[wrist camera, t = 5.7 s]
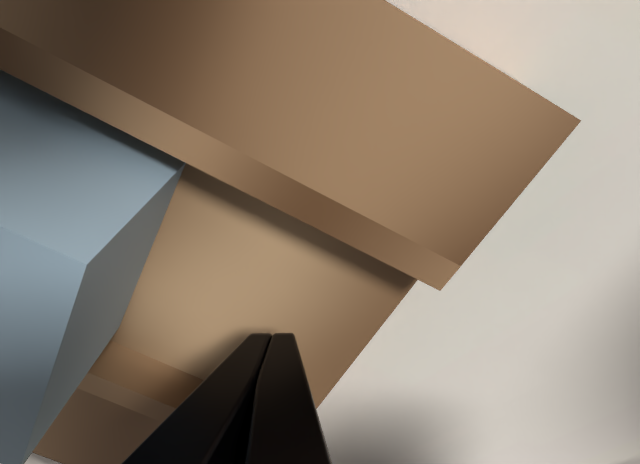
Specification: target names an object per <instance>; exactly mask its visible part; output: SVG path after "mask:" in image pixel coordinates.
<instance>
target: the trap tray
mask: <svg viewBox="0 0 640 464" xmlns="http://www.w3.org/2000/svg"><path fill="white" fill-rule="evenodd" d="M0 70H2V71H4V72H6V73H8V74H10V75H12V76H14V77H16V78H18V79H20V80H22V81H24V82H26V83H28V84H30V85H32V86H34V87H36V88H38V89H40V90H42V91H44V92H46V93H48V94H50V95H52V96H54V97H56V98H58V99H60V100H62V101H64V102H66V103H68V104H70V105H72V106H74V107H76V108H78V109H80V110H82V111H84V112H86V113H88V114H90V115H92V116H94V117H96V118H98V119H100V120H102V121H104V122H106V123H108V124H110V125H112V126H114V127H116V128H118V129H120V130H122V131H124V132H126V133H128V134H130V135H132V136H133V137H135V138H137V139H139V140H141V141H143V142H145V143H147V144H149V145H151V146H153V147H155V148H157V149H159V150H161V151H163V152H165V153H167V154H169V155H171V156H173V157H175V158H177V159H179V160H181V161H183V162H185V163H186V164H185V166H184V168H183V171H182V173H181V176H180V178H179V181H178V183H177V186H176V188H175V191H174V193H173V196H172V198H171V201H170V203H169V205H168V208H167V210H166V213H165V215H164V218H163V220H162V223H161V225H160V228H159V230H158V233H157V235H156V238H155V240H154V243H153V245H152V247H151V250H150V252H149V255H148V257H147V260H146V262H145V265H144V267H143V270H142V272H141V275H140V277H139V280H138V282H137V285H136V287H135V289H134V292H133V294H132V297H131V299H130V302H129V304H128V307H127V309H126V312H125V314H124V317H123V319H122V322H121V324H120V327H119V328H118V330H117V331H116V333H115V334H114V335H113V337H112V338H111V340H110V341H109V343H108V344H107V345H106V347H105V348H104V350H103V351H102V353H101V354H100V356H99V357H98V358H97V360H96V361H95V363H94V364H93V366H92V367H91V368H90V370H89V371H88V373H87V374H86V376H85V377H84V378H83V380H82V381H81V383H80V384H79V386H78V387H77V388H76V390H75V391H74V393H73V394H72V396H71V397H70V398H69V400H68V401H67V403H66V404H65V406H64V407H63V409H62V410H61V411H60V413H59V414H58V416H57V417H56V419H55V420H54V421H53V423H52V424H51V426H50V427H49V429H48V430H47V431H46V433H45V434H44V436H43V437H42V439H41V440H40V441H39V443H38V444H37V446H36V447H35V449H34V450H33V453H35V454H38V455H41V456H44V457H46V458H49V459H52V460H54V461H57V462H60V463H62V464H121V463H122V462H123V461H124V460H125V459H126V458H127V457H128V456H129V455H130V454H131V453H132V452H133V451H134V450H135V449H136V448H137V447H138V446H139V445H140V444H141V443H142V442H143V441H144V440H145V439H146V438H147V437H148V436H149V435H150V434H151V433H152V432H153V431H154V430H155V429H156V428H157V427H158V426H159V425H160V424H161V423H162V422H163V421H164V420H165V419H166V418H167V417H168V416H169V415H170V414H171V413H172V412H173V411H174V410H175V409H176V408H177V407H178V406H179V405H180V404H181V403H182V402H183V401H184V400H185V399H186V398H187V397H188V396H189V395H190V394H191V393H192V392H193V391H194V390H195V389H196V388H197V387H198V386H199V385H200V384H201V383H202V382H203V381H204V380H205V379H206V378H207V377H208V376H209V375H210V374H211V373H212V372H213V371H214V370H215V369H216V368H217V367H218V366H219V365H220V364H221V363H222V362H223V361H224V360H225V359H226V358H227V357H228V356H229V355H230V354H231V353H232V352H233V351H234V350H235V349H236V348H237V347H238V346H239V345H240V344H241V343H242V342H243V341H244V340H245V339H246V338H247V337H248V336H249V335H250V334H252V333H270V334H272V335H273V334H275V333H293V334H294V335H295V338H296V341H297V345H298V348H299V352H300V355H301V359H302V362H303V366H304V369H305V372H306V376H307V379H308V383H309V386H310V390H311V393H312V397H313V400H314V403H315V407H316V409H317V407H318V406H319V405H320V404H321V402H322V401H323V400H324V399H325V397H326V396H327V395H328V393H329V392H330V391H331V390H332V388H333V387H334V386H335V384H336V383H337V382H338V381H339V379H340V378H341V377H342V376H343V374H344V373H345V372H346V370H347V369H348V368H349V367H350V365H351V364H352V363H353V362H354V360H355V359H356V358H357V356H358V355H359V354H360V353H361V351H362V350H363V349H364V348H365V346H366V345H367V344H368V342H369V341H370V340H371V339H372V337H373V336H374V335H375V333H376V332H377V331H378V330H379V328H380V327H381V326H382V325H383V323H384V322H385V321H386V319H387V318H388V317H389V316H390V314H391V313H392V312H393V311H394V309H395V308H396V307H397V305H398V304H399V303H400V302H401V300H402V299H403V298H404V297H405V295H406V294H407V293H408V291H409V290H410V289H411V288H412V286H413V285H414V284H415V282H416V281H417V280H420V281H422V282H424V283H426V284H428V285H430V286H432V287H434V288H436V289H438V290H440V291H441V289H442V288H443V287H444V286H445V285H446V283H447V282H448V281H449V280H450V278H451V277H452V276H453V275H454V274H455V272H456V271H457V270H458V269H459V268H460V266H461V265H462V264H463V263H464V262H465V260H466V259H467V258H468V257H469V256H470V254H471V253H472V252H473V251H474V249H475V248H476V247H477V246H478V245H479V243H480V242H481V241H482V240H483V239H484V237H485V236H486V235H487V234H488V233H489V231H490V230H491V229H492V228H493V226H494V225H495V224H496V223H497V222H498V220H499V219H500V218H501V217H502V216H503V214H504V213H505V212H506V211H507V210H508V208H509V207H510V206H511V205H512V204H513V202H514V201H515V200H516V199H517V197H518V196H519V195H520V194H521V193H522V191H523V190H524V189H525V188H526V187H527V185H528V184H529V183H530V182H531V181H532V179H533V178H534V177H535V176H536V175H537V173H538V172H539V171H540V170H541V168H542V167H543V166H544V165H545V164H546V162H547V161H548V160H549V159H550V158H551V156H552V155H553V154H554V153H555V152H556V150H557V149H558V148H559V147H560V146H561V144H562V143H563V142H564V141H565V139H566V138H567V137H568V136H569V135H570V133H571V132H572V131H573V130H574V129H575V127H576V126H577V125H578V124H579V123H580V121H581V120H579V119H577V118H576V117H574V116H573V115H571V114H569V113H568V112H566V111H565V110H563V109H561V108H560V107H558V106H556V105H555V104H553V103H552V102H550V101H548V100H547V99H545V98H544V97H542V96H540V95H539V94H537V93H535V92H534V91H532V90H531V89H529V88H527V87H526V86H524V85H523V84H521V83H519V82H518V81H516V80H514V79H513V78H511V77H509V76H508V75H506V74H505V73H503V72H501V71H500V70H498V69H496V68H495V67H493V66H491V65H490V64H488V63H487V62H485V61H483V60H482V59H480V58H478V57H477V56H475V55H473V54H472V53H470V52H469V51H467V50H465V49H464V48H462V47H460V46H459V45H457V44H455V43H454V42H452V41H451V40H449V39H447V38H446V37H444V36H442V35H441V34H439V33H437V32H436V31H434V30H433V29H431V28H429V27H428V26H426V25H424V24H423V23H421V22H419V21H418V20H416V19H415V18H413V17H411V16H410V15H408V14H406V13H405V12H403V11H401V10H400V9H398V8H397V7H395V6H393V5H392V4H390V3H388V2H387V1H385V0H0Z"/></svg>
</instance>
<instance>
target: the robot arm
mask: <svg viewBox="0 0 640 464" xmlns="http://www.w3.org/2000/svg"><path fill="white" fill-rule="evenodd" d="M121 464H332V462H331V459H330V455H329V452H328V448H327V445H326V441H325V438H324V435H323V431H322V428H321V424H320V421H319V417H318V414H317V410H316V407H315V403H314V400H313V397H312V393H311V390H310V386H309V383H308V379H307V376H306V372H305V369H304V366H303V362H302V359H301V355H300V352H299V348H298V345H297V341H296V338H295V335H294V334H293V333H275V334H273V335H272V334H270V333H252V334H250V335H249V336H248V337H247V338H246V339H245V340H244V341H243V342H242V343H241V344H240V345H239V346H238V347H237V348H236V349H235V350H234V351H233V352H232V353H231V354H230V355H229V356H228V357H227V358H226V359H225V360H224V361H223V362H222V363H221V364H220V365H219V366H218V367H217V368H216V369H215V370H214V371H213V372H212V373H211V374H210V375H209V376H208V377H207V378H206V379H205V380H204V381H203V382H202V383H201V384H200V385H199V386H198V387H197V388H196V389H195V390H194V391H193V392H192V393H191V394H190V395H189V396H188V397H187V398H186V399H185V400H184V401H183V402H182V403H181V404H180V405H179V406H178V407H177V408H176V409H175V410H174V411H173V412H172V413H171V414H170V415H169V416H168V417H167V418H166V419H165V420H164V421H163V422H162V423H161V424H160V425H159V426H158V427H157V428H156V429H155V430H154V431H153V432H152V433H151V434H150V435H149V436H148V437H147V438H146V439H145V440H144V441H143V442H142V443H141V444H140V445H139V446H138V447H137V448H136V449H135V450H134V451H133V452H132V453H131V454H130V455H129V456H128V457H127V458H126V459H125V460H124V461H123V462H122V463H121Z"/></svg>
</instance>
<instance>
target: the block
mask: <svg viewBox="0 0 640 464" xmlns="http://www.w3.org/2000/svg"><path fill="white" fill-rule="evenodd" d="M185 164H186V163H185V162H183V161H181V160H179V159H177V158H175V157H173V156H171V155H169V154H167V153H165V152H163V151H161V150H159V149H157V148H155V147H153V146H151V145H149V144H147V143H145V142H143V141H141V140H139V139H137V138H135V137H133V136H132V135H130V134H128V133H126V132H124V131H122V130H120V129H118V128H116V127H114V126H112V125H110V124H108V123H106V122H104V121H102V120H100V119H98V118H96V117H94V116H92V115H90V114H88V113H86V112H84V111H82V110H80V109H78V108H76V107H74V106H72V105H70V104H68V103H66V102H64V101H62V100H60V99H58V98H56V97H54V96H52V95H50V94H48V93H46V92H44V91H42V90H40V89H38V88H36V87H34V86H32V85H30V84H28V83H26V82H24V81H22V80H20V79H18V78H16V77H14V76H12V75H10V74H8V73H6V72H4V71H2V70H0V463H1V464H24V463H25V462H26V460H27V459H28V457H29V456H30V454H31V453H32V452H33V450H34V449H35V447H36V446H37V444H38V443H39V441H40V440H41V439H42V437H43V436H44V434H45V433H46V431H47V430H48V429H49V427H50V426H51V424H52V423H53V421H54V420H55V419H56V417H57V416H58V414H59V413H60V411H61V410H62V409H63V407H64V406H65V404H66V403H67V401H68V400H69V398H70V397H71V396H72V394H73V393H74V391H75V390H76V388H77V387H78V386H79V384H80V383H81V381H82V380H83V378H84V377H85V376H86V374H87V373H88V371H89V370H90V368H91V367H92V366H93V364H94V363H95V361H96V360H97V358H98V357H99V356H100V354H101V353H102V351H103V350H104V348H105V347H106V345H107V344H108V343H109V341H110V340H111V338H112V337H113V335H114V334H115V333H116V331H117V330H118V328H119V327H120V324H121V322H122V319H123V317H124V314H125V312H126V309H127V307H128V304H129V302H130V299H131V297H132V294H133V292H134V289H135V287H136V285H137V282H138V280H139V277H140V275H141V272H142V270H143V267H144V265H145V262H146V260H147V257H148V255H149V252H150V250H151V247H152V245H153V243H154V240H155V238H156V235H157V233H158V230H159V228H160V225H161V223H162V220H163V218H164V215H165V213H166V210H167V208H168V205H169V203H170V201H171V198H172V196H173V193H174V191H175V188H176V186H177V183H178V181H179V178H180V176H181V173H182V171H183V168H184V166H185Z"/></svg>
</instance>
